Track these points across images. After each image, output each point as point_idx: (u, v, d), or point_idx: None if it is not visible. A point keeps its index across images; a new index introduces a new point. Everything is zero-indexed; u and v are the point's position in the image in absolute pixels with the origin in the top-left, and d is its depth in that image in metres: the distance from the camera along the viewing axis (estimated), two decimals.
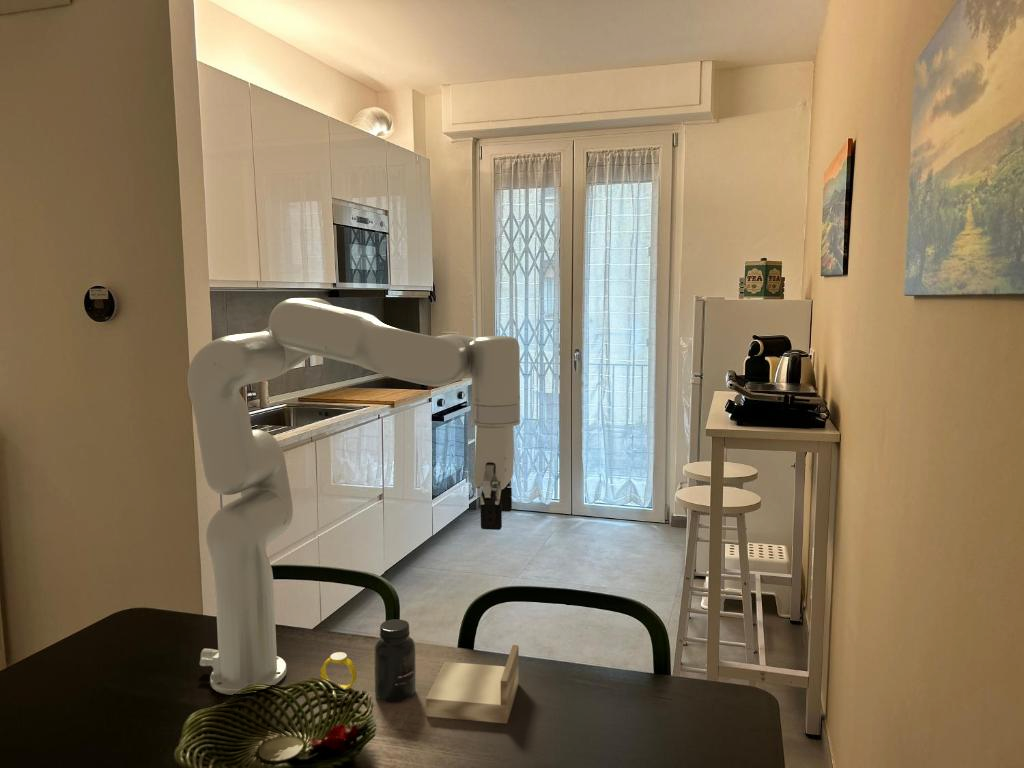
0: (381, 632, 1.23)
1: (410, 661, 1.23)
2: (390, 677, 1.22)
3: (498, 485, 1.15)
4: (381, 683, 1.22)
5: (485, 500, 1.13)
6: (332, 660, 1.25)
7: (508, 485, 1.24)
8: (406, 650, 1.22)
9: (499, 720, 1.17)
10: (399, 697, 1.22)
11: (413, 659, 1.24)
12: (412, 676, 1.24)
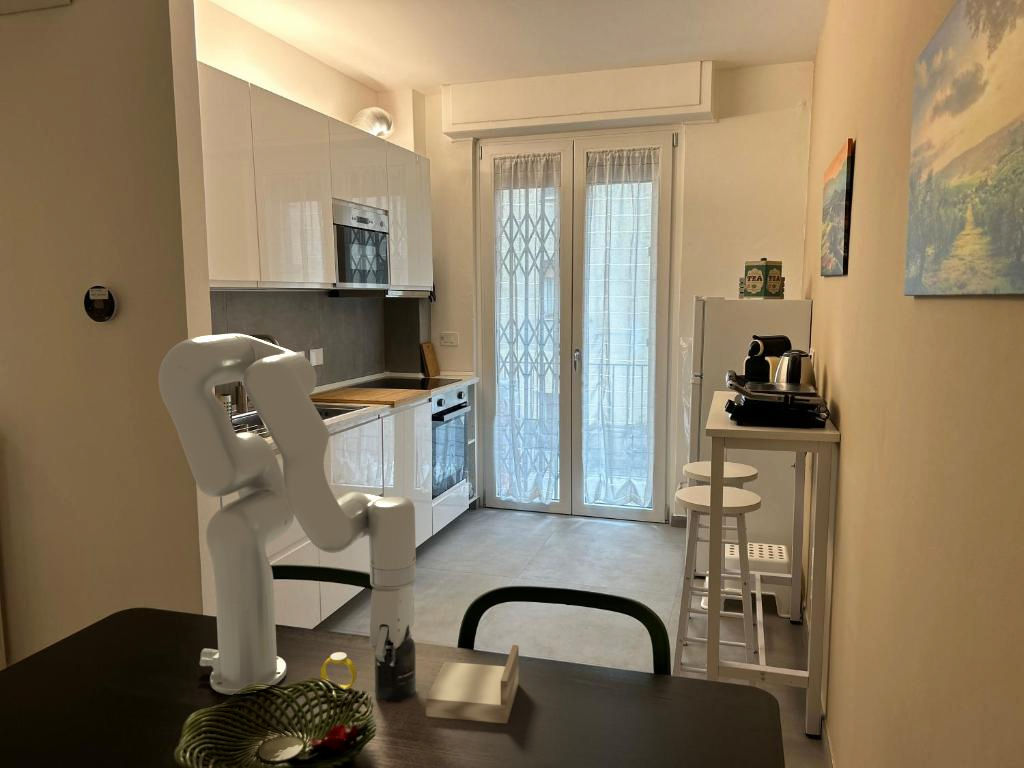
0: None
1: (410, 661, 1.23)
2: None
3: (393, 646, 1.20)
4: None
5: (380, 663, 1.19)
6: (332, 660, 1.25)
7: None
8: (406, 650, 1.22)
9: (499, 720, 1.17)
10: (399, 697, 1.22)
11: (413, 659, 1.24)
12: (413, 676, 1.24)
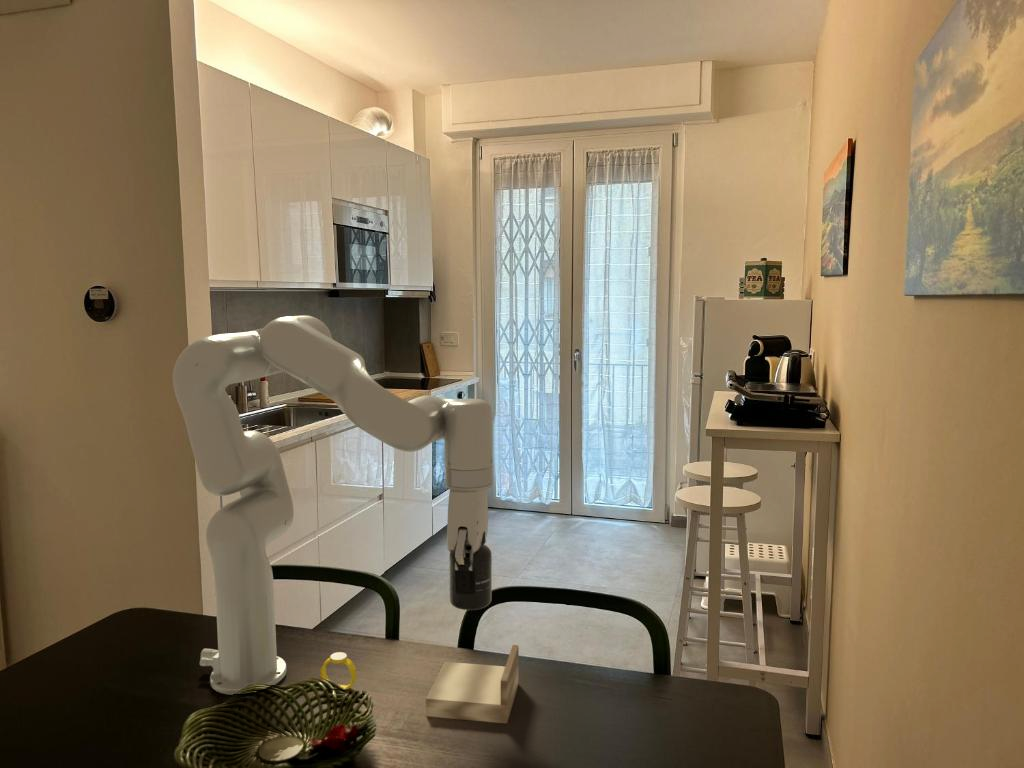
0: None
1: (487, 567, 1.19)
2: None
3: (471, 551, 1.16)
4: None
5: (459, 566, 1.15)
6: (332, 660, 1.25)
7: None
8: (484, 555, 1.18)
9: (499, 720, 1.17)
10: (477, 604, 1.18)
11: (490, 566, 1.20)
12: (489, 584, 1.20)
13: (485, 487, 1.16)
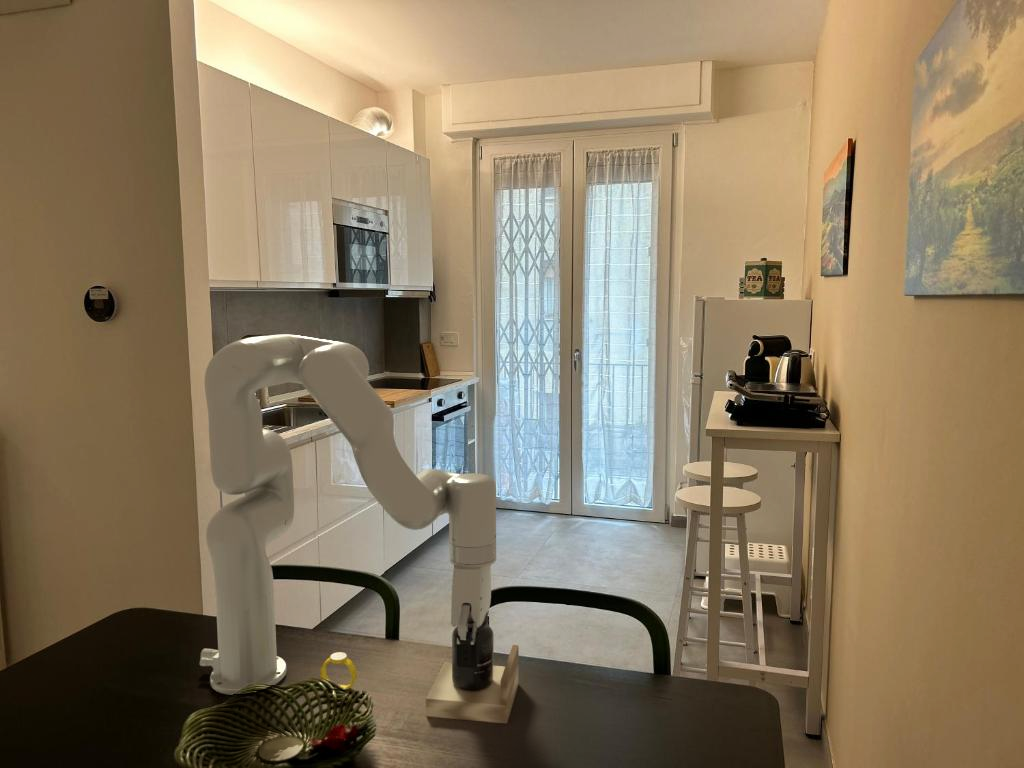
0: None
1: (489, 649, 1.21)
2: None
3: (474, 624, 1.17)
4: (459, 671, 1.20)
5: (461, 641, 1.15)
6: (332, 660, 1.25)
7: None
8: (486, 638, 1.20)
9: (499, 720, 1.17)
10: (478, 686, 1.20)
11: (492, 647, 1.21)
12: (491, 665, 1.21)
13: (489, 563, 1.18)
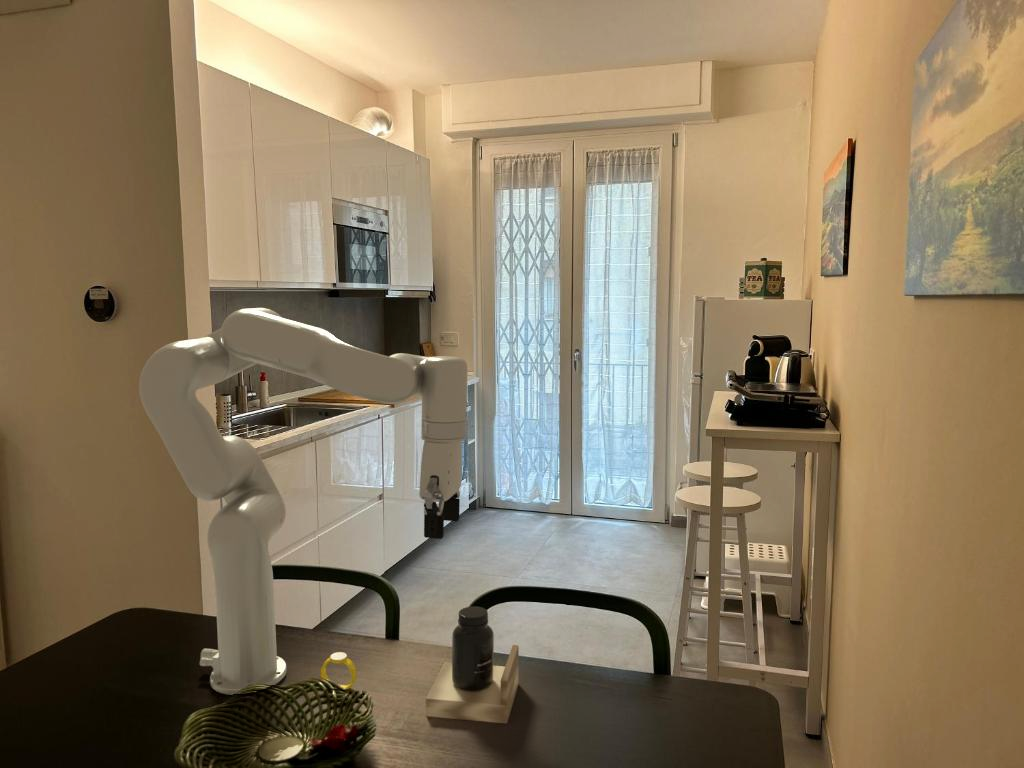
0: (460, 619, 1.21)
1: (489, 649, 1.21)
2: (469, 665, 1.19)
3: (441, 497, 1.22)
4: (459, 671, 1.20)
5: (427, 510, 1.20)
6: (332, 660, 1.25)
7: (456, 496, 1.32)
8: (486, 637, 1.20)
9: (499, 720, 1.17)
10: (478, 685, 1.20)
11: (492, 647, 1.21)
12: (491, 665, 1.21)
13: (458, 440, 1.23)
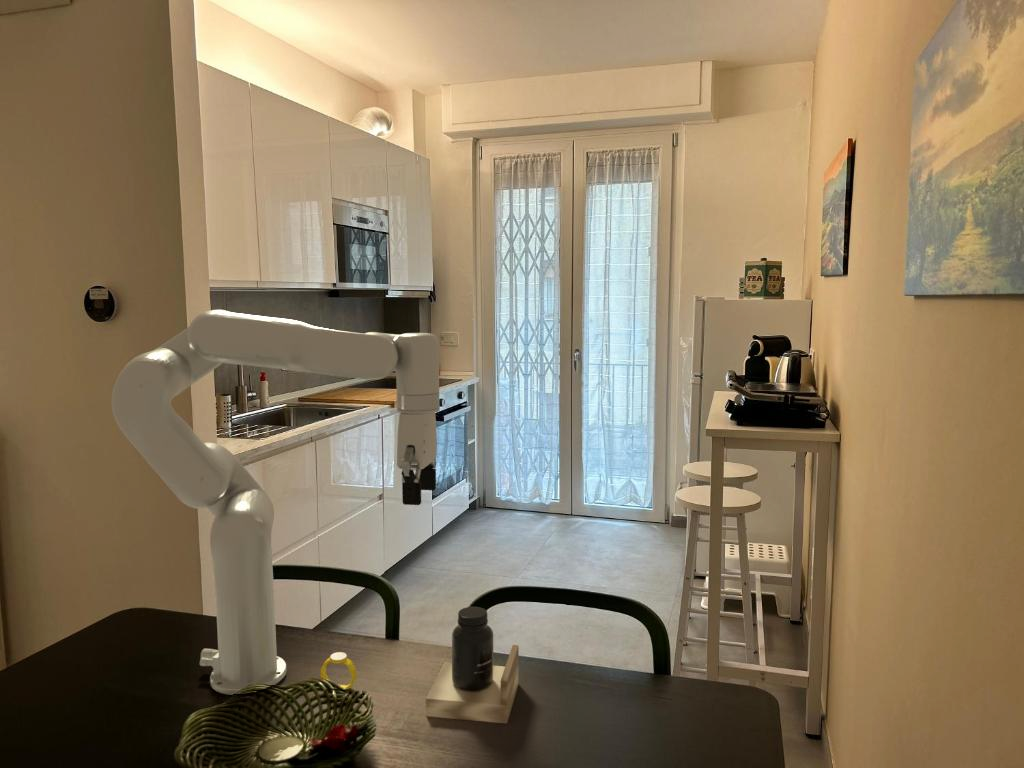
0: (459, 619, 1.21)
1: (489, 649, 1.21)
2: (469, 665, 1.19)
3: (418, 465, 1.29)
4: (459, 671, 1.20)
5: (405, 478, 1.27)
6: (332, 660, 1.25)
7: (432, 467, 1.39)
8: (485, 638, 1.20)
9: (499, 720, 1.17)
10: (478, 686, 1.20)
11: (492, 647, 1.21)
12: (491, 665, 1.21)
13: (431, 411, 1.30)
